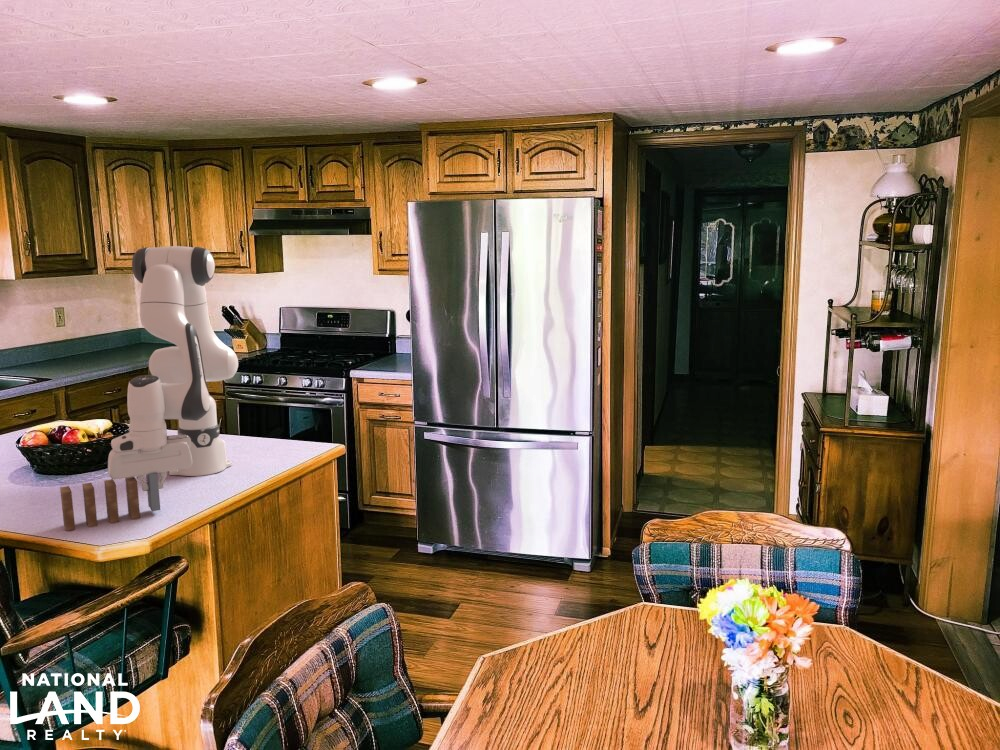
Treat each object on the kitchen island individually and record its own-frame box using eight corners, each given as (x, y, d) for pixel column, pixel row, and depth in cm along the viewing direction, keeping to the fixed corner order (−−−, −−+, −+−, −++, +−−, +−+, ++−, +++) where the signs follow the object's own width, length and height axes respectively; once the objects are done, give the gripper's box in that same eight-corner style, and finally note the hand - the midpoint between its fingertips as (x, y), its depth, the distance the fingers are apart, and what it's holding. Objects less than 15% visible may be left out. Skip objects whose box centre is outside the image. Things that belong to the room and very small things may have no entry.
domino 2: (88, 527, 200) (85, 489, 198) (86, 521, 204) (82, 483, 203) (97, 525, 201) (93, 487, 200) (94, 519, 205) (91, 482, 204)
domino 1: (66, 531, 198) (62, 492, 196) (64, 525, 202) (60, 487, 200) (75, 529, 199) (71, 491, 197) (72, 523, 203) (69, 485, 201)
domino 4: (131, 519, 206) (128, 482, 204) (128, 513, 210) (125, 477, 208) (140, 517, 207) (137, 480, 205) (136, 512, 211) (133, 475, 209)
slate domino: (152, 511, 208) (149, 474, 206) (148, 506, 212) (145, 469, 211) (160, 509, 209) (157, 473, 208) (156, 504, 213) (153, 468, 212)
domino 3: (110, 523, 203) (107, 485, 201) (107, 517, 207) (104, 480, 205) (119, 521, 204) (115, 484, 202) (115, 516, 208) (112, 479, 206)
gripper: (187, 430, 216) (191, 479, 218) (104, 441, 205) (109, 493, 207) (193, 435, 211) (196, 485, 213) (108, 446, 199) (112, 499, 202)
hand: (152, 489), depth 210 cm, fingers closed on slate domino, 2 cm apart
